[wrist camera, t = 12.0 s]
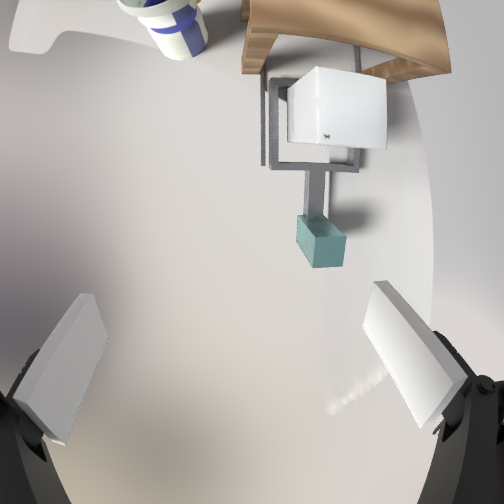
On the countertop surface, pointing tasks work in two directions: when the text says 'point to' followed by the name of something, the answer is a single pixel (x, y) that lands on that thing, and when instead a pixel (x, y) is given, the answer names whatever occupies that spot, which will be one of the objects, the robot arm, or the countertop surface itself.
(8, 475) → the robot arm
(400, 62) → the bridge
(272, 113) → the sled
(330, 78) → the supplement box
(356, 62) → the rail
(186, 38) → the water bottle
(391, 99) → the countertop surface
